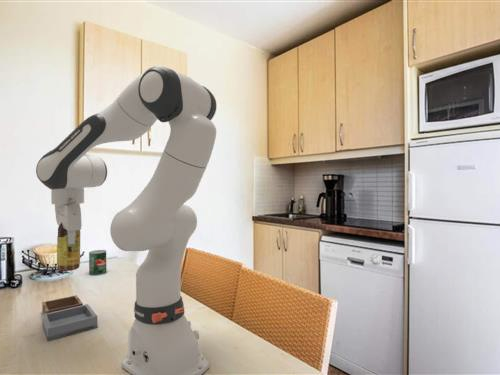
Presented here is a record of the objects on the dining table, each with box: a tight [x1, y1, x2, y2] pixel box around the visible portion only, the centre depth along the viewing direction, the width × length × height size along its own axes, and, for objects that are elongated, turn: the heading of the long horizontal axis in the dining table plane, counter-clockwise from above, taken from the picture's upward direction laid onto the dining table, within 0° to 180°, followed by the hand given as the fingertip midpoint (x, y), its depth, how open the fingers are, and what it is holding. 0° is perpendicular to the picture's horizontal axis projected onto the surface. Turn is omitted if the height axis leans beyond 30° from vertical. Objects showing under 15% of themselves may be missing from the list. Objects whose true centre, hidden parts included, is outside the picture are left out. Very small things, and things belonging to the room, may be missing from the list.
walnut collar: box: [41, 295, 84, 314], centre depth 107 cm, size 11×11×4 cm
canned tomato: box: [88, 249, 107, 277], centre depth 156 cm, size 8×8×11 cm
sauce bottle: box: [56, 222, 81, 272], centre depth 97 cm, size 6×6×20 cm
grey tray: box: [41, 303, 99, 342], centre depth 97 cm, size 13×13×4 cm
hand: (68, 242), depth 97 cm, fingers closed on sauce bottle, 6 cm apart
